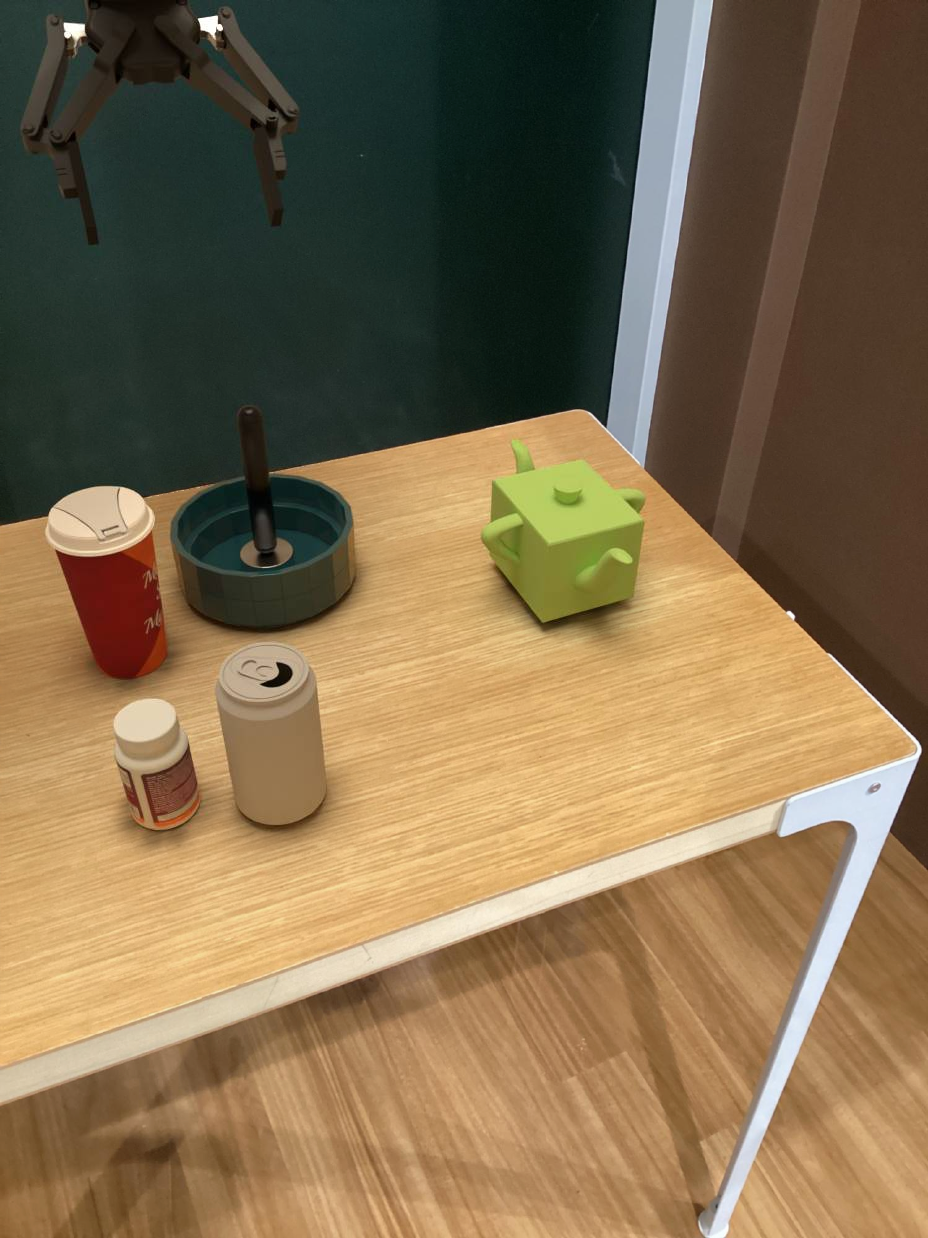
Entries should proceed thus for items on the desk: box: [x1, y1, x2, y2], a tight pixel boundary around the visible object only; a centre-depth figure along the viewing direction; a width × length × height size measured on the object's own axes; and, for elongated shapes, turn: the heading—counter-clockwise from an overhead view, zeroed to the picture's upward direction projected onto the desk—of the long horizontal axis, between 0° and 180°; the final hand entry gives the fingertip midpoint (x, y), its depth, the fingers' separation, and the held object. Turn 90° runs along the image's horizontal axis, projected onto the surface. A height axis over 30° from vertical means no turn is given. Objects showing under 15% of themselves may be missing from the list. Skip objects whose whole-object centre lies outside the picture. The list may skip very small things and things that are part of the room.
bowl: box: [169, 472, 357, 629], centre depth 92 cm, size 15×15×6 cm
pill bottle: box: [112, 698, 201, 831], centre depth 71 cm, size 5×5×8 cm
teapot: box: [480, 439, 646, 623], centre depth 91 cm, size 15×13×11 cm
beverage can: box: [214, 641, 328, 826], centre depth 71 cm, size 6×6×12 cm
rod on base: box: [236, 404, 295, 572], centre depth 89 cm, size 5×5×16 cm
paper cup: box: [44, 485, 168, 680], centre depth 81 cm, size 8×8×14 cm
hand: (187, 227), depth 79 cm, fingers open, 13 cm apart
